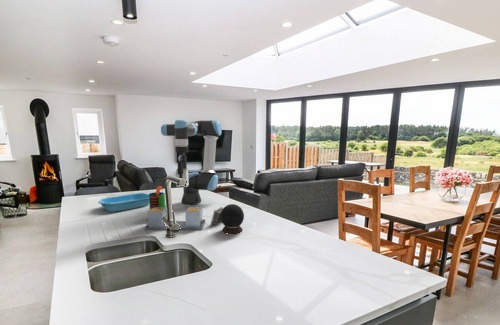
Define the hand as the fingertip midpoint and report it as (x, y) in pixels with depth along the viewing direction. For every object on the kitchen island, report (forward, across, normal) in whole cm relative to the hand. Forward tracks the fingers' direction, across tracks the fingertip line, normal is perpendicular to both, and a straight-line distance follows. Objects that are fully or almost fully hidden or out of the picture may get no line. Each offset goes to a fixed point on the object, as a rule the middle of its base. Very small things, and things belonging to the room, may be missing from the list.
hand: (182, 183), depth 161 cm
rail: (+23, +10, -2) cm, 26 cm away
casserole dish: (+23, -30, -49) cm, 62 cm away
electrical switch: (+23, +4, +22) cm, 33 cm away
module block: (+1, 0, 0) cm, 1 cm away
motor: (+23, -6, -18) cm, 30 cm away
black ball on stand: (+23, +17, +31) cm, 43 cm away
